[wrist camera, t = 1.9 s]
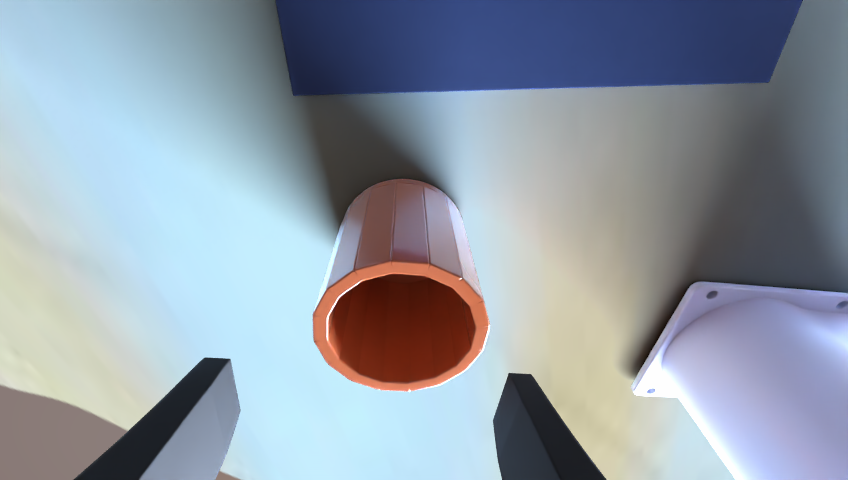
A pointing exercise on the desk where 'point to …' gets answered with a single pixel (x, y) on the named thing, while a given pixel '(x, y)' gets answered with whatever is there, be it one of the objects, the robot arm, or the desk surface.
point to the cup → (401, 291)
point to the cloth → (528, 43)
